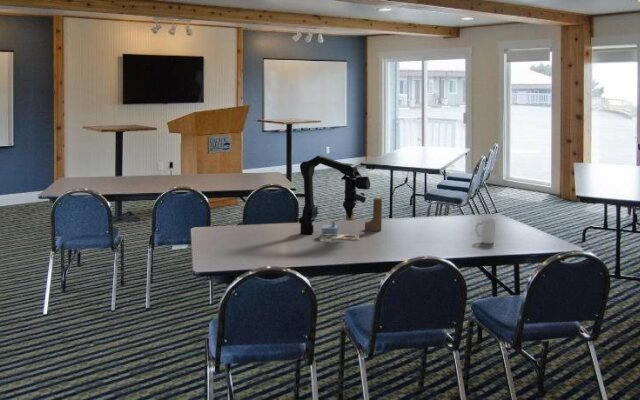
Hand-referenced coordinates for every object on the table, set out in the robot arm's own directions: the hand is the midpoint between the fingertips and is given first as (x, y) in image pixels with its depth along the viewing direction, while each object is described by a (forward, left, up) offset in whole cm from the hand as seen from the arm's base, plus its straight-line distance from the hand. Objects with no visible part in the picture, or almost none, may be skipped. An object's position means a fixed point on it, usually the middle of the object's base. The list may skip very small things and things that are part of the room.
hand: (349, 217), depth 383 cm
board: (-6, 0, -11) cm, 12 cm away
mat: (-12, -8, -11) cm, 18 cm away
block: (0, 0, -1) cm, 1 cm away
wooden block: (+12, +23, -11) cm, 28 cm away
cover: (-11, 0, -10) cm, 15 cm away
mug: (+70, -3, -11) cm, 71 cm away
